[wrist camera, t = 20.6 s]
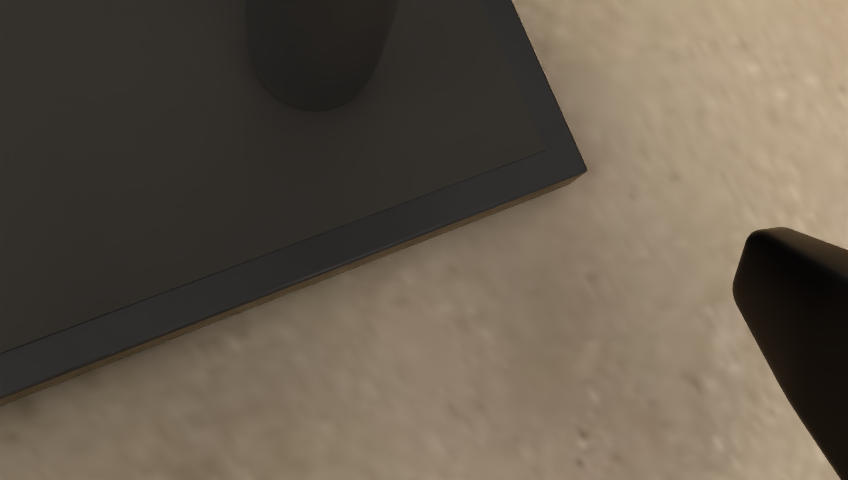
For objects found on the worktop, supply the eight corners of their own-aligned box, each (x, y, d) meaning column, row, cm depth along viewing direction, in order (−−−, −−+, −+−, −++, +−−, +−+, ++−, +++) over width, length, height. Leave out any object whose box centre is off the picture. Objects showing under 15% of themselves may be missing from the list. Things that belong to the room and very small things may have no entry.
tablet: (-382, 554, 14) (-443, 570, 13) (-569, -81, 15) (-640, -121, 14) (569, 184, 19) (590, 169, 18) (368, -268, 20) (375, -309, 19)
